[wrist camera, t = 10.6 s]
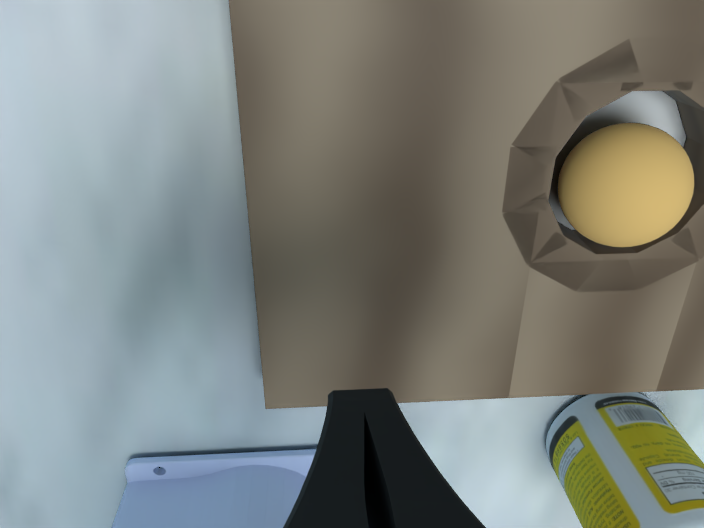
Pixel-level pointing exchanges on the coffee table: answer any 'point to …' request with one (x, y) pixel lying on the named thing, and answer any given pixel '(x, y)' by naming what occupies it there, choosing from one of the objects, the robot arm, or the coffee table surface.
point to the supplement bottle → (625, 464)
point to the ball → (625, 185)
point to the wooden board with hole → (458, 198)
